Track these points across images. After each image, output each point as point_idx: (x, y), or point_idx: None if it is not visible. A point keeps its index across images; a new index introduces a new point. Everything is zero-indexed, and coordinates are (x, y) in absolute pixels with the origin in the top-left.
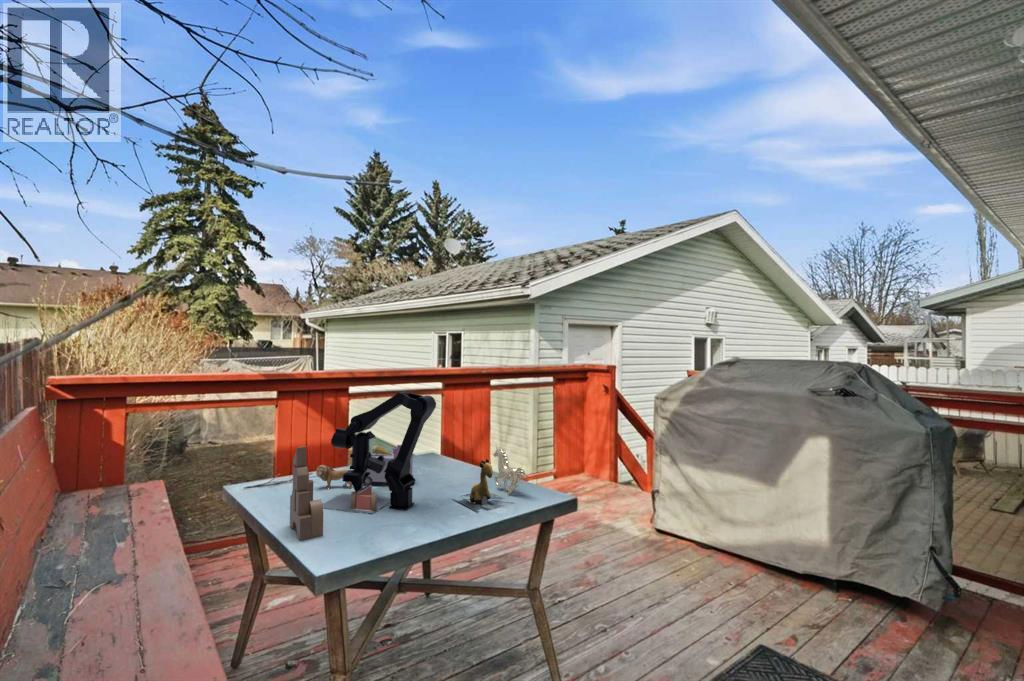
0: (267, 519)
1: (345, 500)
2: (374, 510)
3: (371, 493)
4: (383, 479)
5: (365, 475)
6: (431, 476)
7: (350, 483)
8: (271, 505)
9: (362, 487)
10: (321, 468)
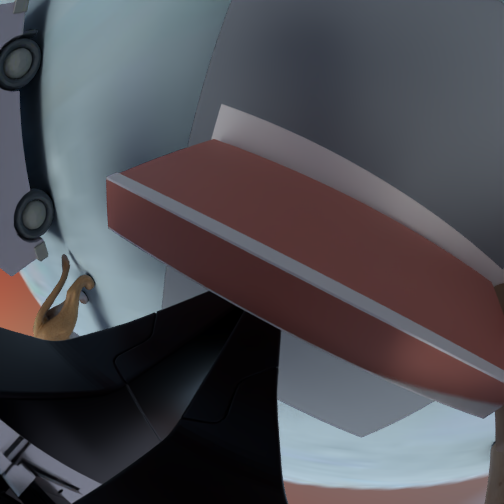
0: (408, 484)
1: (283, 341)
2: None
3: (194, 146)
4: (9, 136)
5: (41, 431)
6: (4, 3)
7: (75, 292)
8: (290, 469)
9: (206, 305)
10: None
